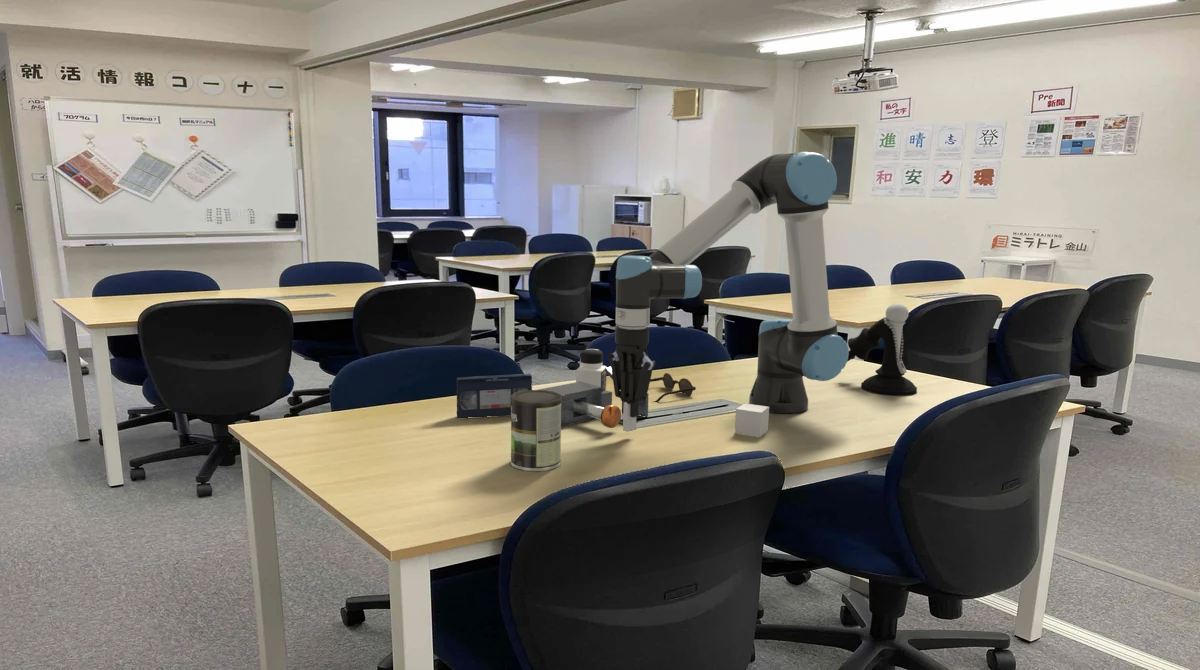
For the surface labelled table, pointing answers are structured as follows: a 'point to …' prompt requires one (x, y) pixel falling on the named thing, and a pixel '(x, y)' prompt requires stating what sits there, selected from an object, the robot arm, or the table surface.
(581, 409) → the pin
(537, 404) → the coffee can
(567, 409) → the hitch block
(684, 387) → the eyeglasses
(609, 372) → the keeper
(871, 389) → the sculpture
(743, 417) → the white cube
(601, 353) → the medicine bottle
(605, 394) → the bracket
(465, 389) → the vhs cassette tape
